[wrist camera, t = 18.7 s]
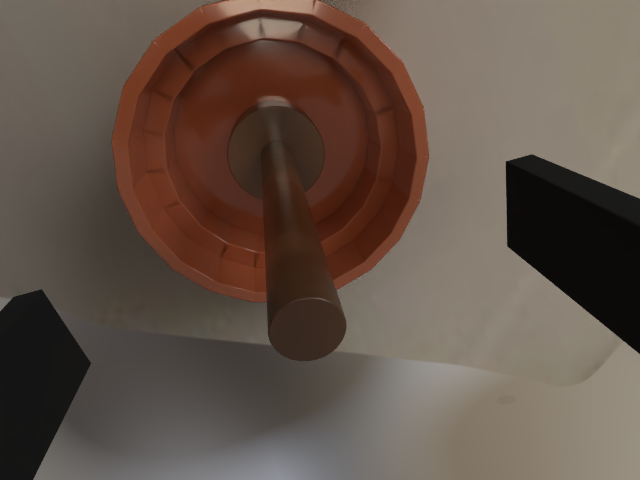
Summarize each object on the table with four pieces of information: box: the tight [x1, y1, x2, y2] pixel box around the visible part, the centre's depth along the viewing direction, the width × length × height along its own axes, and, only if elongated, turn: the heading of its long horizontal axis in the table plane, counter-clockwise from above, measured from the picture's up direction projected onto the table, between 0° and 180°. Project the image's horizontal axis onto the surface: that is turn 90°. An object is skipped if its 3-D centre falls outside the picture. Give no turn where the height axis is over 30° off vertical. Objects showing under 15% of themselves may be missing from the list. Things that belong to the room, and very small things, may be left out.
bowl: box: [112, 0, 429, 302], centre depth 23 cm, size 15×15×6 cm
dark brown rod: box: [227, 101, 346, 361], centre depth 18 cm, size 6×6×18 cm
